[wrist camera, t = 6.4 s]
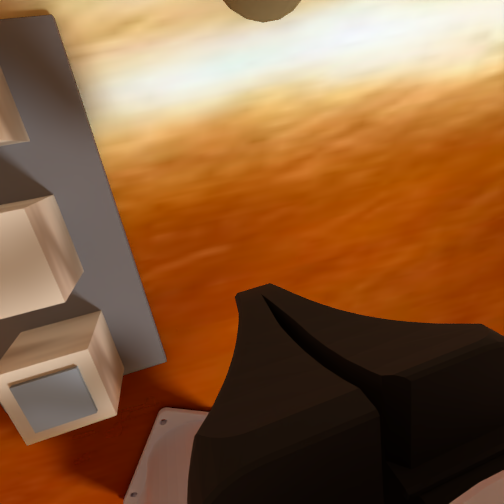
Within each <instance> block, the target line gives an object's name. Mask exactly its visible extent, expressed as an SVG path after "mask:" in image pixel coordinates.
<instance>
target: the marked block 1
mask: <svg viewBox="0 0 504 504" xmlns="http://www.w3.org/2000/svg"><path fill="white" fill-rule="evenodd" d="M28 141H30V139H29V137H28V134H27V132H26V129H25V127H24V124H23V122H22V119H21V117H20V114H19V112H18V109H17V107H16V104H15V102H14V99H13V97H12V94H11V92H10V89H9V87H8V84H7V82H6V79H5V77H4V74H3V72H2V69H1V67H0V146H4V145H10V144H16V143H22V142H28Z"/></svg>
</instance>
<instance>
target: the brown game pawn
mask: <svg viewBox="0 0 504 504" xmlns="http://www.w3.org/2000/svg"><path fill="white" fill-rule="evenodd" d="M223 1H224V2H225V3H226V4H227V5H228V7H229V8H230V9H232V10H233V11H235V12H236V13H238V14H240V15H241V16H243V17H244V18H246V19H250V20H254V21H259V22H268V21H273V20H279V19H281V18H282V17H284V16H285V15H287V14H288V13H290V12H292V11H293V10H294V9H295V7H296V6H297V5H298V4H299V2H300V1H301V0H223Z"/></svg>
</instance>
